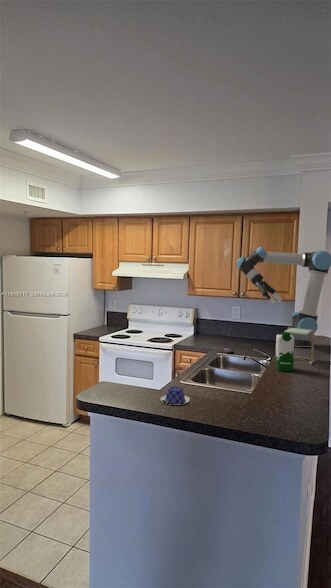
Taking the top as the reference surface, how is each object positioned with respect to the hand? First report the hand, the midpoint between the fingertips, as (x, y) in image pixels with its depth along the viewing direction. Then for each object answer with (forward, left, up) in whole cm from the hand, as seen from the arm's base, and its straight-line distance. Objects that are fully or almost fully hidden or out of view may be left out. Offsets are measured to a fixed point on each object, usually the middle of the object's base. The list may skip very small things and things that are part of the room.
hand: (277, 301), depth 234 cm
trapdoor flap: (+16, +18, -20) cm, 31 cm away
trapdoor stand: (+13, +18, -32) cm, 39 cm away
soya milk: (+36, +15, -32) cm, 51 cm away
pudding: (+107, -9, -33) cm, 112 cm away
